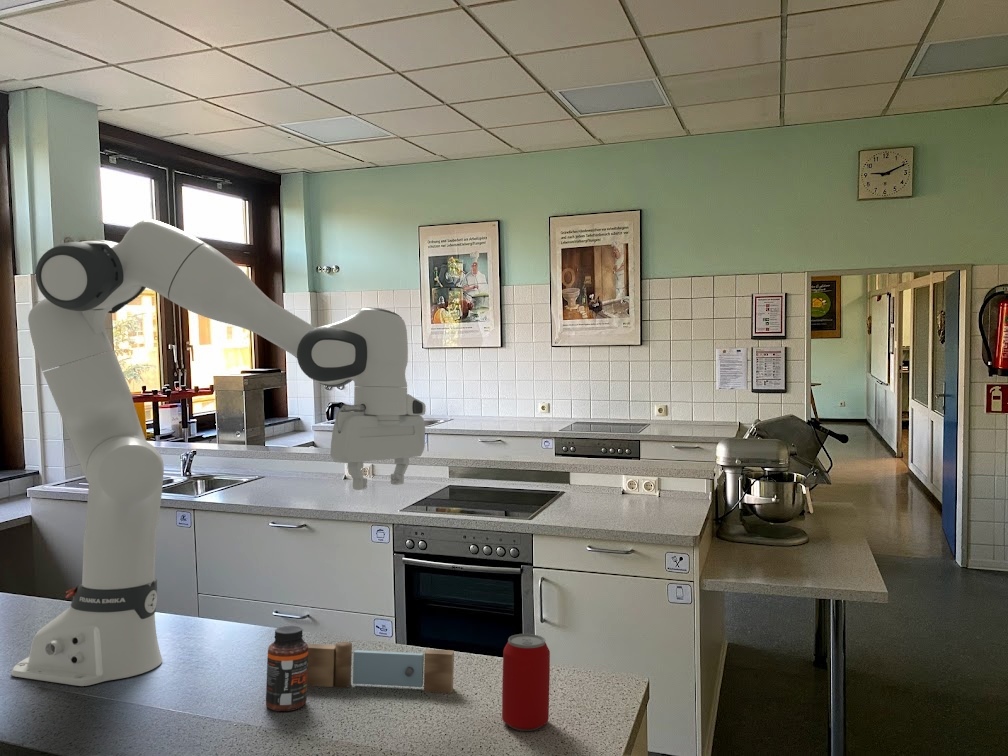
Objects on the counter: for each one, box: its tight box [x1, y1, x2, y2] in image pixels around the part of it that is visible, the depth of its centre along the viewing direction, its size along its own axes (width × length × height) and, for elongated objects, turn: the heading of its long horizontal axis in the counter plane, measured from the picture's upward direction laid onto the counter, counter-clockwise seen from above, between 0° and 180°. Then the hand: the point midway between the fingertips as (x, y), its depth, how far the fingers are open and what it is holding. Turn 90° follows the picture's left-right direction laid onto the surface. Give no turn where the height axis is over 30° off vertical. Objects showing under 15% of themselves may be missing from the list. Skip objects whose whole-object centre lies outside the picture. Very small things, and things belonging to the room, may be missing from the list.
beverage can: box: [501, 633, 551, 732], centre depth 111 cm, size 7×7×12 cm
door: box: [352, 649, 425, 688], centre depth 123 cm, size 11×2×5 cm, turn 85°
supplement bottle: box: [265, 625, 308, 712], centre depth 116 cm, size 6×6×11 cm
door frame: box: [307, 641, 455, 694], centre depth 124 cm, size 27×3×6 cm, turn 85°
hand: (379, 486), depth 130 cm, fingers open, 8 cm apart
